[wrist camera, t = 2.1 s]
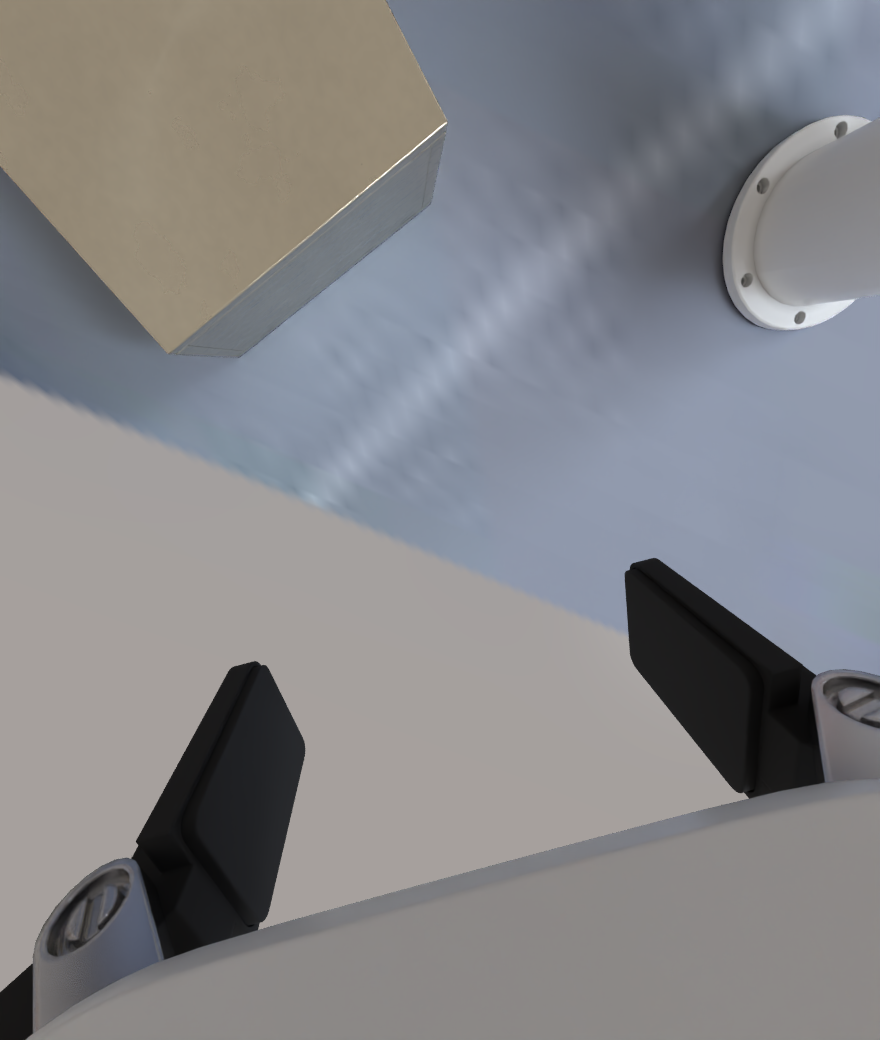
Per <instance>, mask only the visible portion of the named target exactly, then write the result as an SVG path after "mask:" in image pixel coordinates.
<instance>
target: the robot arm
mask: <svg viewBox="0 0 880 1040" xmlns="http://www.w3.org/2000/svg"><path fill="white" fill-rule="evenodd" d="M723 270H724V278H725V282H726V285H727V289H728V293H729V295H730V297H731V299H732V300H733V302H734V304H735V306H736V308H737V309H738V310H739V311H740V312H741V313H742V314H743V316H744V317H745V318H747V319H748V320H750V321H751V322H753V323H754V324H756V325H758V326H761V327H764V328H766V329H770V330H781V331H785V330H797V329H803V328H807V327H811V326H815V325H817V324H819V323H822V322H824V321H826V320H828V319H830V318H832V317H833V316H835V315H836V314H838V313H840V312H841V311H843V310H844V309H845V308H847V307H848V306H849V305H850V304H851V303H852V302H853V301H854V300H856V299H858V298H865V297H872V296H879V295H880V118H878V119H876V120H874V121H870V120H868V119H865V118H863V117H857V116H851V115H841V116H832V117H828V118H825V119H822V120H819V121H817V122H814V123H811V124H809V125H808V126H806V127H804V128H802V129H801V130H799V131H797V132H795V133H794V134H792V135H790V136H789V137H788V138H786V139H785V140H783V141H782V142H781V143H779V144H778V145H777V146H775V147H774V148H773V149H772V150H771V151H770V152H769V153H768V154H767V155H766V156H765V157H764V158H763V159H762V160H761V161H760V162H759V164H758V165H757V167H756V168H755V169H754V171H753V172H752V173H751V175H750V176H749V177H748V179H747V180H746V182H745V184H744V186H743V188H742V189H741V191H740V193H739V195H738V197H737V199H736V201H735V204H734V206H733V209H732V212H731V214H730V217H729V220H728V224H727V229H726V233H725V237H724V246H723ZM625 588H626V602H627V617H628V632H629V646H630V656H631V659H632V662H633V664H634V666H635V667H636V669H637V670H638V671H639V673H640V674H641V675H642V676H643V678H644V679H645V680H646V681H647V682H648V684H649V685H650V686H651V687H652V689H653V690H654V691H655V692H656V694H657V695H658V696H659V697H660V699H661V700H662V701H663V702H664V704H665V705H666V706H667V707H668V709H669V710H670V711H671V712H672V714H673V715H674V716H675V717H676V719H677V720H678V721H679V722H680V724H681V725H682V726H683V727H684V729H685V730H686V731H687V732H688V733H689V735H690V736H691V737H692V739H693V740H694V741H695V742H696V744H697V745H698V746H699V747H700V748H701V750H702V751H703V752H704V753H705V755H706V756H707V757H708V759H709V760H710V761H711V762H712V764H713V765H714V766H715V767H716V769H717V770H718V771H719V772H720V774H721V775H722V776H723V777H724V778H725V780H726V781H727V782H728V784H729V785H730V786H731V787H732V788H733V789H734V790H735V791H736V792H738V793H743V792H744V793H745V794H746V795H747V796H748V798H749V799H746V800H742V801H738V802H733V803H729V804H725V805H721V806H717V807H713V808H708V809H704V810H700V811H696V812H692V813H689V814H685V815H681V816H677V817H673V818H669V819H666V820H662V821H658V822H654V823H650V824H647V825H643V826H639V827H635V828H632V829H628V830H624V831H620V832H616V833H612V834H608V835H605V836H601V837H597V838H593V839H589V840H586V841H582V842H578V843H574V844H571V845H567V846H563V847H559V848H556V849H552V850H549V851H544V852H541V853H537V854H533V855H529V856H526V857H522V858H518V859H515V860H511V861H507V862H503V863H500V864H496V865H492V866H488V867H485V868H481V869H477V870H474V871H470V872H466V873H463V874H459V875H455V876H451V877H448V878H444V879H440V880H437V881H433V882H429V883H426V884H422V885H418V886H414V887H411V888H407V889H404V890H400V891H396V892H393V893H389V894H385V895H382V896H378V897H375V898H371V899H367V900H364V901H360V902H356V903H353V904H349V905H345V906H342V907H339V908H335V909H331V910H327V911H324V912H320V913H316V914H313V915H309V916H306V917H302V918H298V919H295V920H291V921H288V922H284V923H281V924H277V925H274V926H270V927H267V928H264V929H260V930H258V927H259V923H260V922H263V921H264V920H265V919H266V917H267V915H268V912H269V908H270V904H271V900H272V895H273V891H274V886H275V882H276V878H277V873H278V869H279V865H280V860H281V856H282V852H283V848H284V843H285V839H286V835H287V830H288V826H289V822H290V817H291V813H292V808H293V804H294V800H295V796H296V791H297V787H298V783H299V778H300V774H301V770H302V765H303V761H304V757H305V743H304V740H303V737H302V735H301V733H300V731H299V730H298V727H297V725H296V723H295V721H294V719H293V717H292V715H291V713H290V711H289V709H288V707H287V705H286V703H285V701H284V699H283V697H282V695H281V693H280V691H279V689H278V687H277V685H276V683H275V681H274V679H273V677H272V675H271V673H270V671H269V669H268V667H267V666H266V665H262V666H261V665H260V664H259V663H258V662H256V661H254V662H250V663H246V664H242V665H239V666H234V667H232V668H231V669H230V670H229V672H228V674H227V675H226V677H225V679H224V681H223V683H222V685H221V686H220V688H219V690H218V692H217V694H216V696H215V697H214V699H213V701H212V703H211V705H210V706H209V708H208V710H207V712H206V714H205V716H204V718H203V719H202V721H201V723H200V725H199V727H198V729H197V730H196V732H195V734H194V736H193V738H192V739H191V741H190V743H189V745H188V747H187V749H186V751H185V752H184V754H183V756H182V758H181V760H180V761H179V763H178V765H177V767H176V769H175V771H174V772H173V774H172V776H171V778H170V780H169V782H168V783H167V785H166V787H165V789H164V791H163V793H162V794H161V796H160V798H159V800H158V802H157V804H156V806H155V807H154V810H153V811H152V813H151V815H150V816H149V819H148V820H147V822H146V824H145V826H144V828H143V829H142V831H141V833H140V835H139V837H138V838H137V840H136V843H137V844H138V847H137V849H136V851H135V853H134V855H133V857H132V858H131V859H129V858H122V859H116V860H114V861H111V862H109V863H107V864H105V865H102V866H101V867H99V868H98V869H96V870H95V871H93V872H92V873H90V874H89V875H87V876H86V877H85V878H84V879H83V880H82V881H80V882H79V883H78V884H77V885H76V886H75V887H74V888H73V889H72V890H70V892H69V893H68V894H67V895H66V896H65V897H64V898H63V900H61V902H60V903H59V904H58V905H57V906H56V907H55V909H54V910H53V912H52V913H51V915H50V916H49V918H48V919H47V921H46V922H45V924H44V925H43V927H42V929H41V932H40V934H39V936H38V938H37V940H36V943H35V948H34V954H33V964H31V965H30V966H29V967H28V968H27V969H26V970H25V971H24V972H22V973H21V974H20V975H19V976H18V977H17V978H16V979H15V980H14V981H12V982H11V983H10V984H9V985H8V986H7V987H6V988H5V989H4V990H2V991H1V992H0V1040H880V676H878V675H874V674H870V673H866V672H862V671H855V670H845V669H841V670H829V671H826V672H823V673H820V674H818V675H817V676H816V675H815V674H814V673H812V672H811V671H809V670H808V669H807V668H805V667H804V666H803V665H802V664H801V663H800V662H798V661H797V660H795V659H794V658H793V657H791V656H790V655H789V654H787V653H786V652H784V651H783V650H782V649H780V648H779V647H778V646H776V645H775V644H774V643H772V642H771V641H769V640H768V639H767V638H765V637H764V636H763V635H761V634H760V633H758V632H757V631H756V630H754V629H753V628H752V627H750V626H749V625H747V624H746V623H745V622H743V621H742V620H741V619H739V618H738V617H737V616H735V615H734V614H732V613H731V612H730V611H728V610H727V609H726V608H724V607H723V606H721V605H720V604H719V603H717V602H716V601H715V600H713V599H712V598H711V597H709V596H708V595H706V594H705V593H704V592H702V591H701V590H700V589H698V588H697V587H695V586H694V585H693V584H691V583H690V582H689V581H687V580H686V579H684V578H683V577H682V576H680V575H679V574H678V573H676V572H675V571H674V570H672V569H671V568H669V567H668V566H667V565H665V564H664V563H663V562H661V561H660V560H658V559H656V558H651V559H648V560H644V561H640V562H636V563H633V564H631V566H630V570H628V571H626V572H625Z"/></svg>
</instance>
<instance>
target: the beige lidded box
mask: <svg viewBox="0 0 880 1040" xmlns="http://www.w3.org/2000/svg"><path fill="white" fill-rule="evenodd" d="M447 125H448V121H447V119H446V117H445V115H444V113H443V111H442V109H441V107H440V105H439V103H438V101H437V100H436V98H435V96H434V94H433V92H432V90H431V88H430V86H429V84H428V82H427V80H426V78H425V76H424V74H423V72H422V70H421V68H420V66H419V64H418V62H417V60H416V58H415V56H414V55H413V53H412V51H411V49H410V47H409V45H408V43H407V41H406V39H405V37H404V35H403V33H402V31H401V29H400V27H399V25H398V23H397V21H396V19H395V17H394V15H393V13H392V11H391V10H390V8H389V6H388V4H387V2H386V0H0V166H1V168H2V169H3V170H4V171H5V172H6V173H7V174H8V175H9V177H10V178H11V179H12V180H13V181H14V182H15V183H16V184H17V186H18V187H19V188H20V189H21V190H22V191H23V192H24V193H25V195H26V196H27V197H28V198H29V199H30V200H31V201H32V202H33V203H34V205H35V206H36V207H37V208H38V209H39V210H40V211H41V212H42V214H43V215H44V216H45V217H46V218H47V219H48V220H49V221H50V223H51V224H52V225H53V226H54V227H55V228H56V229H57V230H58V231H59V233H60V234H61V235H62V236H63V237H64V238H65V239H66V240H67V242H68V243H69V244H70V245H71V246H72V247H73V248H74V249H75V251H76V252H77V253H78V254H79V255H80V256H81V257H82V258H83V259H84V261H85V262H86V263H87V264H88V265H89V266H90V267H91V268H92V270H93V271H94V272H95V273H96V274H97V275H98V276H99V277H100V279H101V280H102V281H103V282H104V283H105V284H106V285H107V286H108V288H109V289H110V290H111V291H112V292H113V293H114V294H115V295H116V296H117V298H118V299H119V300H120V301H121V302H122V303H123V304H124V305H125V307H126V308H127V309H128V310H129V311H130V312H131V313H132V314H133V316H134V317H135V318H136V319H137V320H138V321H139V322H140V323H141V324H142V326H143V327H144V328H145V329H146V330H147V331H148V332H149V333H150V335H151V336H152V337H153V338H154V339H155V340H156V341H157V342H158V344H159V345H160V346H161V347H162V348H163V349H164V350H165V351H166V353H168V354H176V355H191V356H211V357H231V358H239V357H241V356H242V355H243V354H245V353H246V352H247V351H248V350H249V349H251V348H252V347H253V346H254V345H256V344H257V343H258V342H259V341H261V340H262V339H263V338H264V337H266V336H267V335H268V334H269V333H271V332H272V331H273V330H274V329H276V328H277V327H278V326H279V325H281V324H282V323H283V322H284V321H286V320H287V319H288V318H289V317H291V316H292V315H293V314H294V313H296V312H297V311H298V310H299V309H301V308H302V307H303V306H304V305H306V304H307V303H308V302H309V301H311V300H312V299H313V298H314V297H316V296H317V295H318V294H319V293H321V292H322V291H323V290H324V289H326V288H327V287H328V286H329V285H331V284H332V283H333V282H334V281H335V280H337V279H338V278H339V277H340V276H342V275H343V274H344V273H345V272H347V271H348V270H349V269H350V268H352V267H353V266H354V265H355V264H357V263H358V262H359V261H360V260H362V259H363V258H364V257H365V256H367V255H368V254H369V253H370V252H372V251H373V250H374V249H375V248H377V247H378V246H379V245H380V244H382V243H383V242H384V241H385V240H387V239H388V238H389V237H390V236H392V235H393V234H394V233H395V232H397V231H398V230H399V229H400V228H402V227H403V226H404V225H405V224H407V223H408V222H409V221H410V220H412V219H413V218H414V217H415V216H416V215H418V214H419V213H420V212H421V211H423V210H424V209H425V208H426V207H428V206H429V205H430V204H431V200H432V197H433V192H434V187H435V183H436V178H437V173H438V169H439V164H440V159H441V154H442V150H443V145H444V140H445V136H446V129H447Z"/></svg>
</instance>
